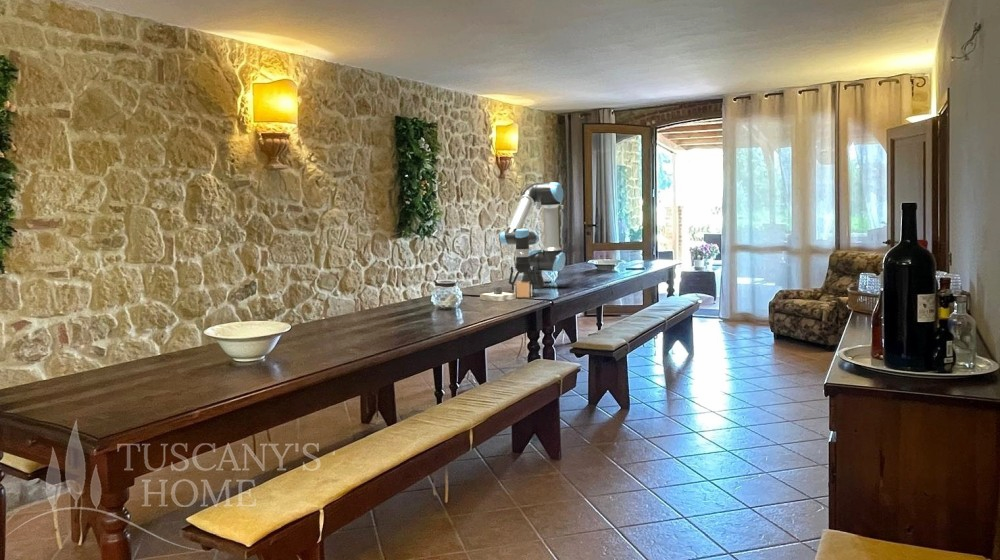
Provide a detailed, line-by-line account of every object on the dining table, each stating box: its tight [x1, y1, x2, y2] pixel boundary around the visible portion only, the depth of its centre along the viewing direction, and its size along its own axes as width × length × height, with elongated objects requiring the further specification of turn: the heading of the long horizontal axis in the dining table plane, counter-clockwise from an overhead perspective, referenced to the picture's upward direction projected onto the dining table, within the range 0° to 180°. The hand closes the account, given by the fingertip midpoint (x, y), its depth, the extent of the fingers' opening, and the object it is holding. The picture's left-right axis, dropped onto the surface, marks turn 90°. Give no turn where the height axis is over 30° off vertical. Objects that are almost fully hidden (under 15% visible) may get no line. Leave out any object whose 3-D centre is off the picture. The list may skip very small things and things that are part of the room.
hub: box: [479, 285, 517, 303], centre depth 386 cm, size 14×14×7 cm
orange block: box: [516, 281, 531, 298], centre depth 395 cm, size 7×7×8 cm
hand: (523, 296), depth 395 cm, fingers open, 9 cm apart
